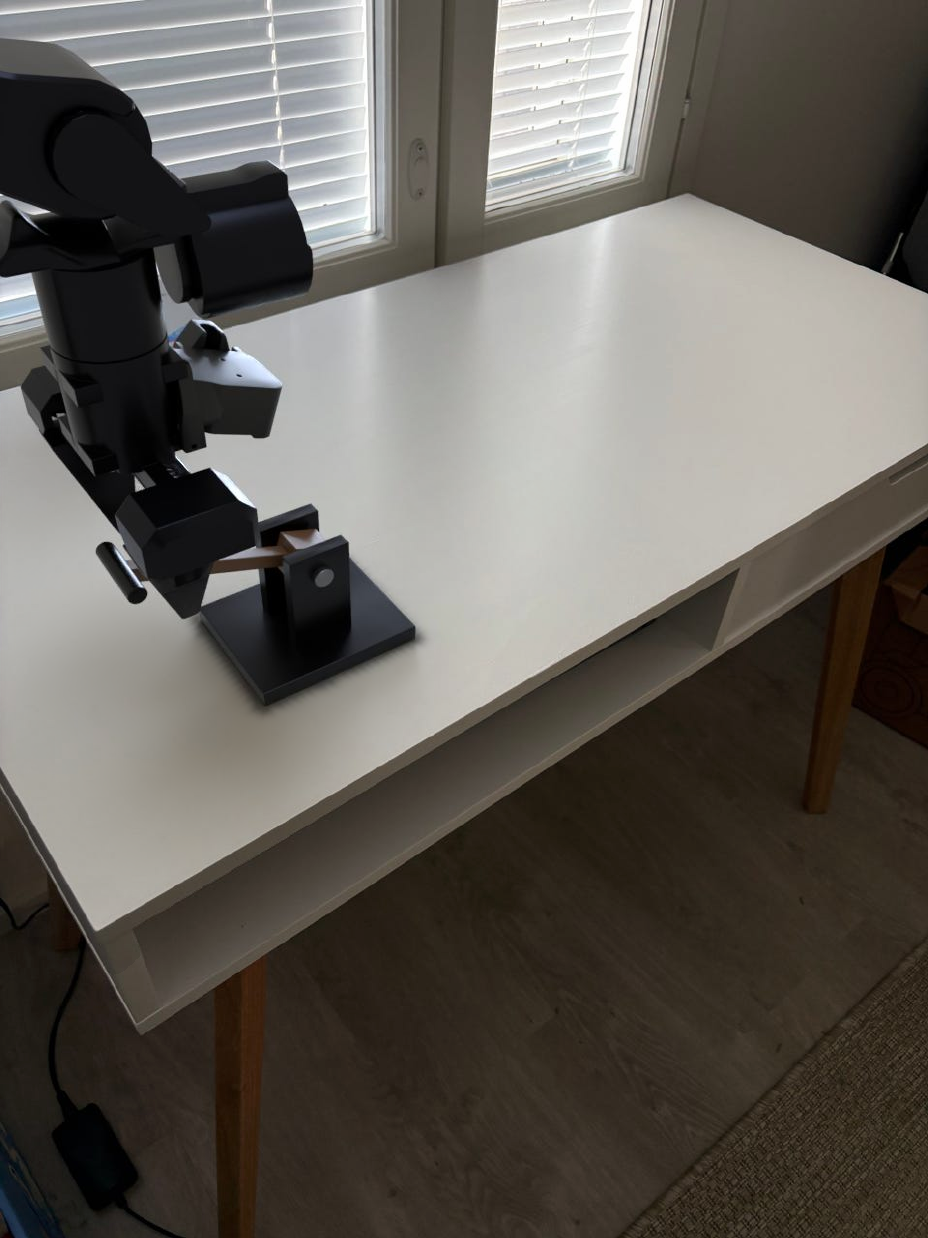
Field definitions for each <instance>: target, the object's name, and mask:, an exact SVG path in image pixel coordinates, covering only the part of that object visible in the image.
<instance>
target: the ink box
mask: <svg viewBox="0 0 928 1238" xmlns="http://www.w3.org/2000/svg"><path fill="white" fill-rule="evenodd" d="M156 266H157V264H156ZM157 272H158V279H159V285H160V291H161V297H162V303H163V309H164V316H165V322H166V328H167V333H168V339H169V344H170V345H171V346H172V347H173V344H174V342H175V340H176V339H177V337H178V336H179V335H180V333H181V332H182V331H183V329H184V328H185V326H186V325H187V324H188V322H189V321H190V320H191V319H195V320H204V319H202V318H200V317H199V316H197V315H196V314H195V313H194V311H193V310H192V308H191V307H190V305H189V304H188V302H185V303H180V304H177V303H175V302H174V301H173V300H172V299H171V297H170V296H169V294H168V292H167V291H166V289H165V287H164V284H163V282H162V280H161V277H160V274H159V271H158V268H157Z"/></svg>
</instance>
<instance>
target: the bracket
mask: <svg viewBox="0 0 928 1238" xmlns="http://www.w3.org/2000/svg"><path fill="white" fill-rule="evenodd" d="M319 517H320V515H319V510H318V508H316V506H315V505H314V504H313V503H308V504H305V505H302V506H299V507H297V508H294V509H291V510H289V511H285V512H282V513H279V514H277V515H274V516H272V517H269V518H266V519H263V520H261V521H258V522H259V531H260V538H259V540H258V542H257V544H256V546H255V548H260V547H271V546H277V543H278V539H279V535H280V532H286V531H298V530H309V529H316V530H317V531H318V532H319V533H320V518H319ZM282 560H283V571H284V574H283V573H282V571H281V570H280V569H279V568H278V567H273V568H263V569H257V570H258V577H259V583H257V584H254V585H252V586H249V587H246V588H244V589H241V590H239V591H236V592H234V593H231V594H229V595H227V596H223V597H221V598H219V599H216V600H213V601H211V602H208V603H206V604H203V605H201V608H200V611H199V613H198V615H199V618H200V621H201V622H202V624H204V626H205V627H206V629H207V630H208V631H209V633H210V634H211V636H212V637H213V638H214V639H215V641H216V642H217V643H218V645H219V646H220V647H221V649H222V650H223V652H224V653H225V654H226V656H227V657H228V659H230V661H231V663H233V665H234V666H235V667H236V669H237V670H238V671H239V673H240V675H242V677H243V678H244V679H245V681H246V682H247V683H248V685H249V686H250V688H251V690H253V692H254V693H255V694H256V695H257V697H258V699H259V700H260V701H261V702H262V704H263V705H264V706H268V705H271V704H273V703H275V702H278V701H280V700H283V699H284V698H286V697H288V696H290V695H293V694H296V693H297V692H299V691H301V690H304V689H307V688H308V687H310V686H313V685H315V684H317V683H319V682H321V681H324V680H326V679H329V678H331V677H333V676H336V675H338V674H339V673H342V672H344V671H346V670H349V669H350V668H352V667H355V666H357V665H358V664H361V663H363V662H365V661H368V660H370V659H372V658H374V657H377V656H379V655H381V654H383V653H385V652H388V651H390V650H392V649H395V648H396V647H399V646H401V645H403V644H406V643H408V642H410V641H412V640H414V639H416V631H417V630H416V625H415V624H414V623H413V622H412V621H411V620H410V619H409V618H408V617H407V616H406V614H404V612H403V611H401V609H400V608H399V607H398V606H396V604H395V603H394V602H393V601H392V600H391V599H390V598H389V597H388V596H387V595H386V594H385V592H383V591H382V589H381V588H380V587H379V586H378V585H377V584H376V583H375V582H374V581H373V580H372V579H371V578H370V576H368V575H367V573H365V572H364V571H363V569H362V568H361V567H360V566H359V565H358V564H357V563H356V562H355V561H354V560H353V559H352V558H351V557H350V543H349V541H348V540H347V539H346V537H345V536H344V535H343V534H338V535H336V536H333V537H331V538H330V537H329V538H328V539H326V540H325V541H322V542H320V543H317V544H315V545H312V546H309V547H307V548H304V549H302V550H299V551H296V552H294V553H291V554H288V555H286V556H283V557H282Z"/></svg>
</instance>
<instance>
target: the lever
mask: <svg viewBox="0 0 928 1238" xmlns="http://www.w3.org/2000/svg"><path fill="white" fill-rule="evenodd" d="M325 540H327V539H326V538H325V537H324V536H323V535H322V534H321V533H320V531H319V532H318V531H317V530H316V529H309V530H298V531H286V532H280V535H279V539H278V543H277V546H271V547H260V548H256V547H253V548H250V549H247V550H245V551H242V552H239V553H236V554H234V555H231V556H228V557H226V558H223V559H220V560H218V561H215V562H214V564H213V566H212V569H211V572H210V575H217V574H226V573H233V572H234V573H235V572H246V571H253V570H258V569H263V568H273V567H278V568H279V569H280V570H281V571H282V573H283V574H284V571H283V560H282V557H283V556H286V555H288V554H291V553H294V552H296V551H299V550H302V549H304V548H307V547H309V546H312V545H315V544H317V543H320V542H322V541H325ZM95 555H96V557H97V558H98V560H99V561H100V562H101V564H102V566H103V567H104V568H105V570H106V571H107V573H108V575H110V577H111V578H112V580H113V581H114V583H115V584H116V587H118V589H119V590H120V591H121V593H122V594H123V596H124V597H125V599H126V600H127V602H128V603H130V604H131V605H139V604H142V603H143V602H144V601H145V600H146V599H147V598H148V590H147V588H146V587H145V585H143V583H144V582H149V580H148V579H147V578H146V577H145V576H144V575H143V574H142V573H141V572H140V570H139V569H138V568H137V566H136V565H135V563H134V562H133V561H132V559H125V557H124V556H123V555H122V553H121V552H120V550H119V549H118V548H117V546H116V545H115V544H114V543H113V542H111V541H102V542H100V543H99V544H98V545H97V546H96V547H95Z"/></svg>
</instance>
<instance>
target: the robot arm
mask: <svg viewBox="0 0 928 1238" xmlns="http://www.w3.org/2000/svg"><path fill="white" fill-rule="evenodd" d="M151 137H152V136H151V133H150V130H149V126H148V122H147V121H146V119H145V117H144V115H143V114H142V112H141V110H140V109H139V107H138V106H137V104H136V103H135V101H134V100H133V98H131V97H130V96H129V95H128V94H126V93H125V92H124V91H123V90H121V89H120V88H119V87H118V86H116V85H115V84H114V83H113V82H111V80H109V79H107V78H106V77H105V76H103V74H101V73H100V72H99V71H97V69H95V68H94V67H92V66H91V65H90V64H89V63H88V62H87V61H85V60H84V59H83V58H81V57H80V56H79V55H78V54H76V53H75V52H73V51H72V50H70V49H67V48H65V47H64V46H61V45H59V44H56V43H51V42H46V41H40V40H28V39H18V38H6V37H0V195H2V196H5V197H7V198H10V199H12V200H16V201H19V202H21V203H24V204H27V205H29V206H33V207H36V208H38V209H40V210H43V211H47V212H42V213H36V214H35V213H34V214H32V213H28V212H26V211H24V210H22V209H20V208H19V207H17V206H16V205H15V204H14V203H13V202H12V201H10V200H8V199H4V200H2V201H0V278H5V279H6V278H12V277H17V276H22V275H27V274H31V278H32V283H33V285H34V290H35V294H36V298H37V303H38V306H39V310H40V314H41V318H42V322H43V325H44V330H45V333H46V337H47V342H48V344H47V345H44V346H40V347H39V349H40V354H41V357H42V361H43V364H44V365H40V366H37V367H33V368H31V369H30V371H29V372H28V374H27V376H26V377H25V379H24V380H23V382H21V383H22V384H21V385H20V386H19V387H20V389H21V394H22V398H23V401H24V405H25V408H26V412H27V415H28V416H29V417H30V419H31V421H32V422H33V423H34V424H35V426H36V427H37V428H38V431H39V432H38V433H39V434H40V436H42V438H43V439H44V441H45V442H46V443H47V444H48V446H49V448H50V449H51V450H52V452H53V453H54V454H55V456H57V459H59V460H60V462H61V463H62V464H63V466H64V467H65V468H66V469H67V470H68V472H69V473H70V474H71V476H72V477H73V478H74V480H75V481H76V482H77V483H78V484H79V485H80V487H81V488H82V489H83V490H84V492H85V493H86V494H87V495H88V497H89V498H90V499H91V501H92V502H93V503H94V504H95V506H96V507H97V508H98V509H99V511H100V512H101V513H102V514H103V515H104V517H105V518H106V519H107V520H108V522H109V523H110V524H111V525H112V527H113V528H114V530H115V531H116V532H117V533H118V534H119V535H120V537H121V540H122V541H123V544H122V548H123V549H124V551H125V552H126V554H127V555H128V557H129V558H130V560H132V561H133V562H134V563H135V565H136V566H137V568H138V569H139V570H140V572H141V573H142V574H143V575H144V576H145V577H146V578H147V579H148V580H149V581H148V582H149V583H150V584H151V586H153V587H154V589H155V590H156V591H157V592H158V593H159V594H160V595H161V597H162V598H163V599H164V600H165V602H166V603H167V604H168V605H169V606H170V607H171V608H172V610H173V611H174V612H175V613H176V615H178V617H179V618H180V619H181V620H186V619H189V618H191V617H194V616H196V615H199V611H200V608H201V606H202V604H203V601H204V598H205V597H204V596H205V594H206V590H207V586H208V584H209V583H208V582H209V579H210V576H211V574H210V572H211V569H212V566H213V564H214V562H215V561H218V560H220V559H223V558H226V557H228V556H231V555H234V554H236V553H239V552H242V551H245V550H247V549H250V548H256V544H257V542H258V540H259V538H260V531H259V522H260V521H259V514H258V509H257V507H256V506H255V505H254V504H253V503H252V502H251V501H250V499H248V496H246V495H245V494H244V493H243V492H242V491H241V489H240V488H239V487H238V486H237V485H236V484H235V483H234V481H232V479H231V478H230V477H229V476H228V475H226V474H224V473H222V472H220V471H218V470H217V469H214V468H212V467H206V468H204V469H201V470H198V471H194V472H192V473H191V472H190V470H189V469H188V468H187V467H186V466H185V465H184V464H183V462H182V461H181V460H180V459H179V458H178V457H177V455H176V452H179V451H182V452H184V454H190V453H193V452H196V451H200V450H203V449H206V448H207V447H208V446H207V440H206V439H207V438H206V434H210V435H220V436H221V435H222V436H223V435H225V436H226V435H229V436H251V437H252V438H253V439H258V440H259V439H262V440H263V439H266V438H269V437H270V436H271V432H272V429H273V425H274V421H275V418H276V417H275V416H276V412H277V409H278V405H279V401H280V397H281V393H282V391H283V390H282V389H283V383H282V382H281V381H280V380H279V379H278V378H277V377H276V376H275V375H274V374H273V373H272V372H271V371H269V370H268V369H267V368H266V367H265V366H264V365H263V364H262V363H261V362H259V360H257V359H256V358H255V357H254V356H251V355H249V354H247V353H245V352H244V351H243V350H241V348H239V347H238V346H232V347H231V348H230V346H229V345H230V344H229V340H228V337H227V335H226V333H225V332H224V331H223V330H222V329H221V328H220V327H219V326H218V325H216V324H215V323H214V322H213V321H211V320H207V319H211V318H216V317H219V316H224V315H228V314H232V313H237V312H241V311H245V310H250V309H254V308H258V307H263V306H266V305H270V304H275V303H278V302H279V303H280V302H284V301H288V300H292V299H296V298H300V297H305V296H306V295H307V294H308V293H309V291H310V289H311V288H312V284H313V278H314V252H313V249H312V247H311V246H310V245H309V244H308V239H307V235H306V231H305V228H304V225H303V221H302V219H301V217H300V216H301V215H300V214H299V211H298V208H297V207H296V205H295V203H294V201H293V200H292V199H293V198H291V196H290V191H289V190H290V189H289V177H288V174H287V173H286V172H285V171H284V170H283V169H281V168H279V166H277V165H275V164H274V163H273V162H272V161H270V160H269V159H262V160H257V161H252V162H251V161H250V162H248V163H247V162H246V163H244V164H241V165H240V166H237V167H235V168H232V169H228V170H222V171H217V172H210V173H204V174H198V175H193V176H192V175H191V176H186V177H181V178H180V177H179V176H177V175H176V174H175V173H174V172H173V171H171V170H170V169H169V168H168V167H167V166H166V165H165V164H163V163H162V162H161V161H160V160H159V159H157V158H156V157H155V156H154V155H153V141H152V138H151ZM156 264H157V266H156ZM157 268H158V271H159V274H160V277H161V280H162V282H163V284H164V287H165V289H166V291H167V292H168V294H169V296H170V297H171V299H172V300H173V301H174V302H175V303H177V304H180V303H185V302H188V304H189V305H190V307H191V308H192V310H193V311H194V313H195V314H196V315H197V316H199V317H200V318H202V319H203V320H195V319H191V320H190V321H189V322H188V324H187V325H186V326H185V328H184V329H183V331H182V332H181V333H180V335H179V336H178V337H177V339H176V340H175V342H174V344H173V347H172V346H171V345H170V344H169V339H168V333H167V328H166V322H165V316H164V309H163V303H162V297H161V291H160V285H159V279H158V272H157ZM136 480H137V482H138V483H139V484H140V485H141V487H143V488H142V489H140V490H137V489H136Z"/></svg>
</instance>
